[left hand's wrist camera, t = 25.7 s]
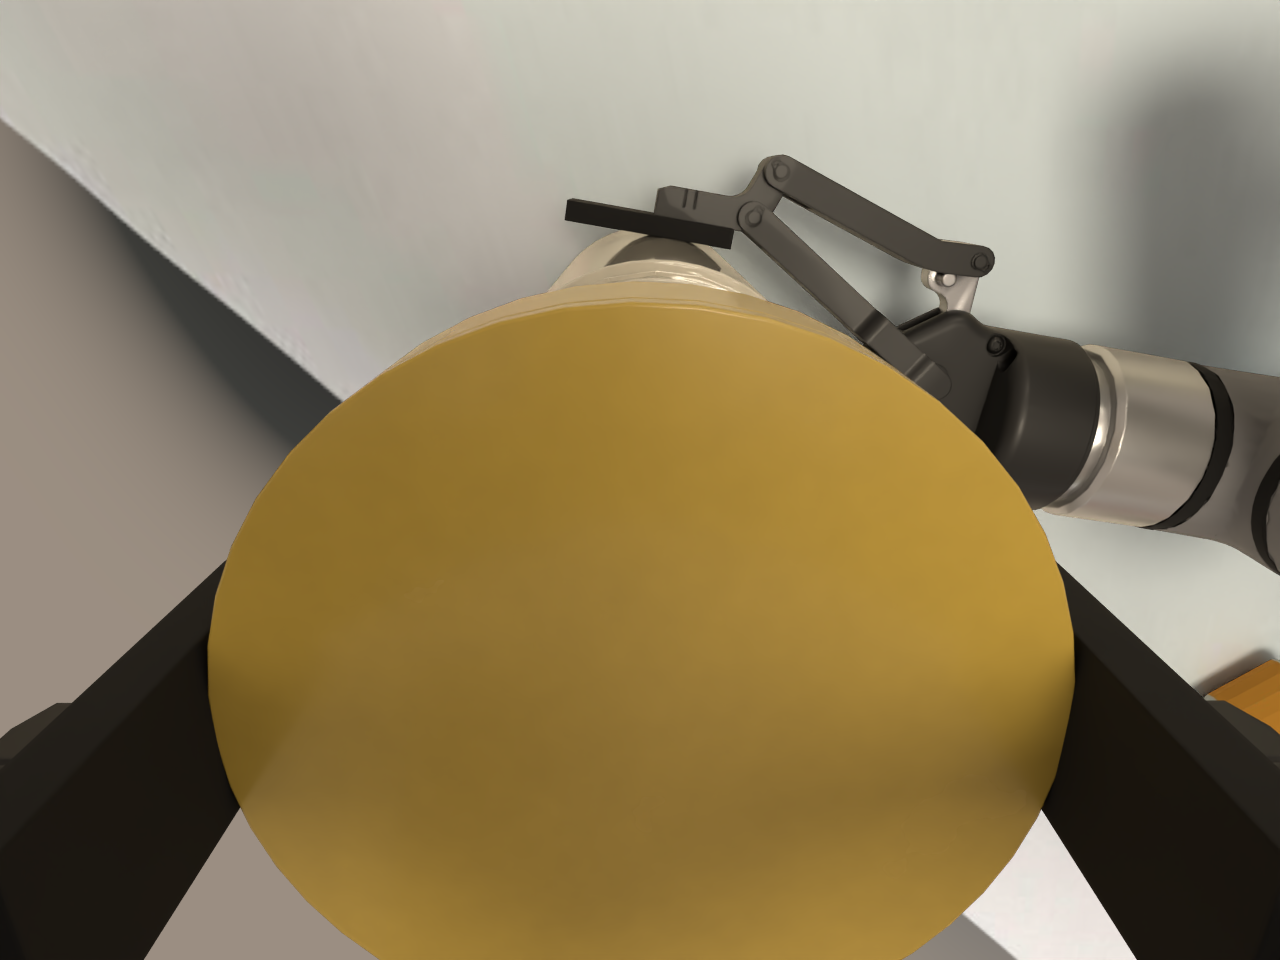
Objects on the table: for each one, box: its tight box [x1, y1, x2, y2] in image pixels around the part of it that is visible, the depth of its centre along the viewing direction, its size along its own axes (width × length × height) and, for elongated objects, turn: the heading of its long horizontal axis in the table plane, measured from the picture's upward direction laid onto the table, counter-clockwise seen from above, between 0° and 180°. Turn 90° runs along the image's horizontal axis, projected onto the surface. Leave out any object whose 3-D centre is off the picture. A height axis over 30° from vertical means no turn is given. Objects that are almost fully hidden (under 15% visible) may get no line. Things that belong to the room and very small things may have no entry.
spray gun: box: [1204, 659, 1280, 734], centre depth 48 cm, size 4×17×15 cm
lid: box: [208, 281, 1075, 960], centre depth 11 cm, size 11×11×2 cm
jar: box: [546, 230, 767, 301], centre depth 32 cm, size 10×10×19 cm
